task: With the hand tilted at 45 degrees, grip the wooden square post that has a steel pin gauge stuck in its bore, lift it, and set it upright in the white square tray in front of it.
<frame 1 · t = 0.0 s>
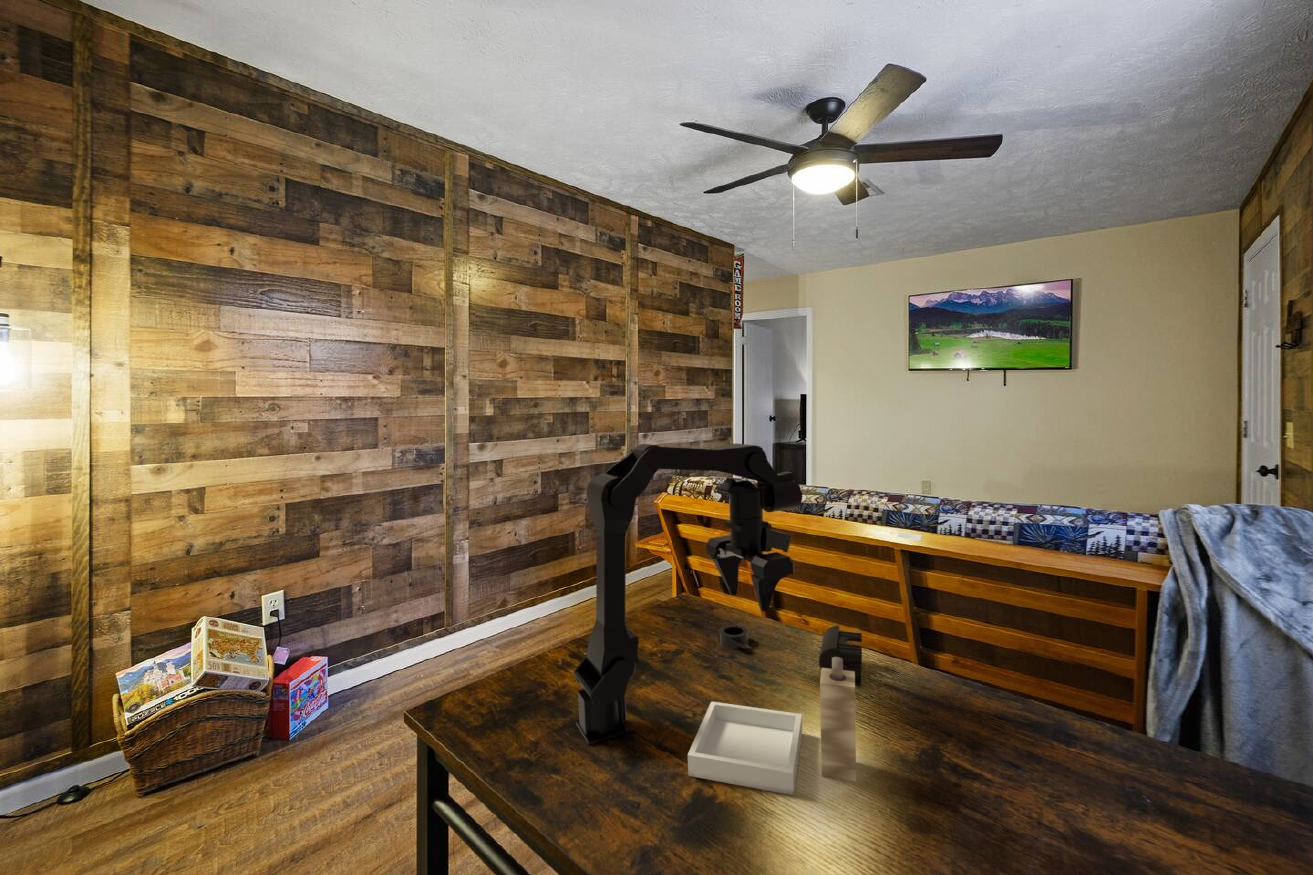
hand: (748, 602, 101), 15 cm above the table, tool pointing down, fingers open, 9 cm apart
wooden square post: (839, 768, 78), on the table
white square tray: (748, 753, 82), on the table
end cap: (841, 673, 105), on the table
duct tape: (734, 645, 118), on the table
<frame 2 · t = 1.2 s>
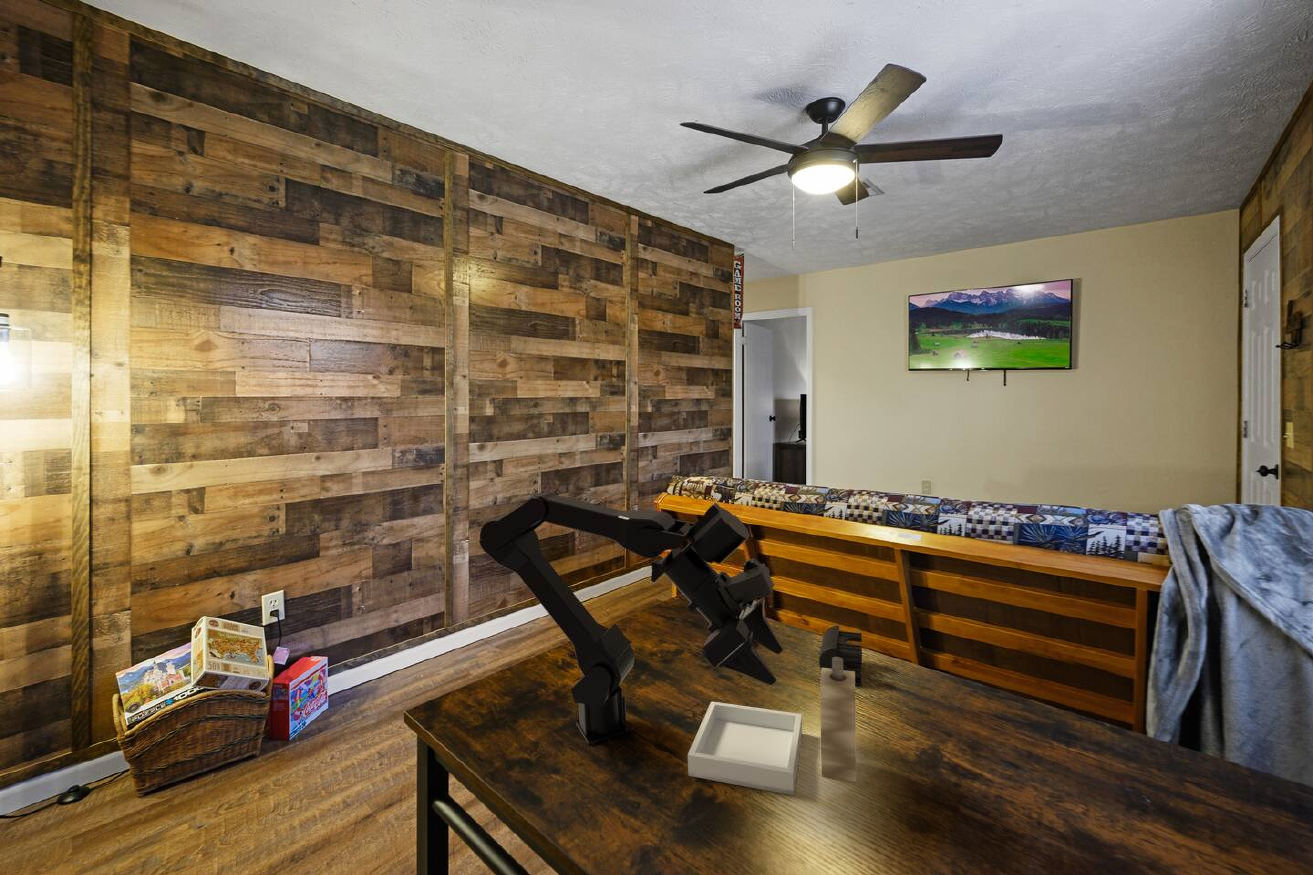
hand: (777, 666, 80), 13 cm above the table, tool tilted 45°, fingers open, 9 cm apart
nothing on the table moved.
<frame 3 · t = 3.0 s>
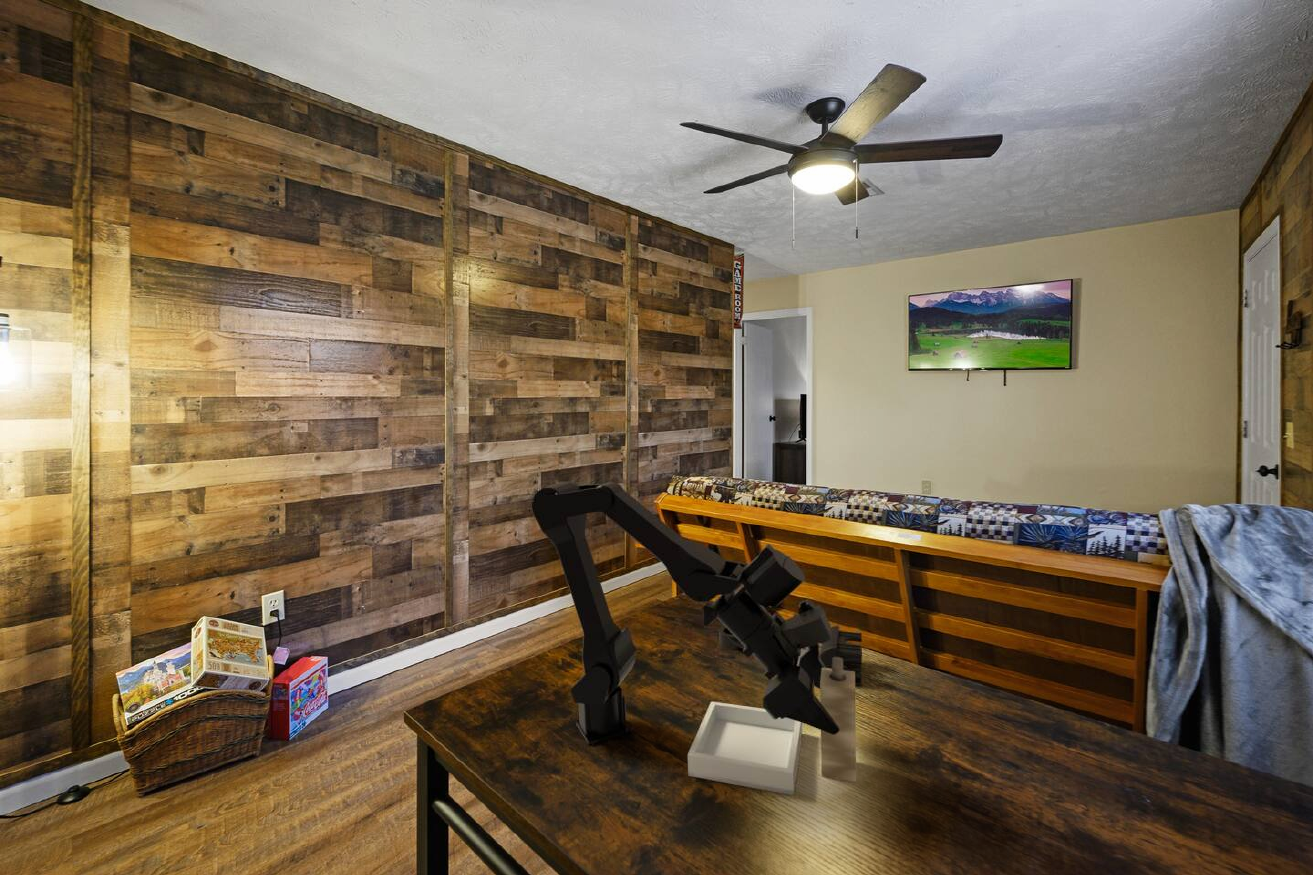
hand: (837, 712, 78), 8 cm above the table, tool tilted 45°, fingers open, 9 cm apart
nothing on the table moved.
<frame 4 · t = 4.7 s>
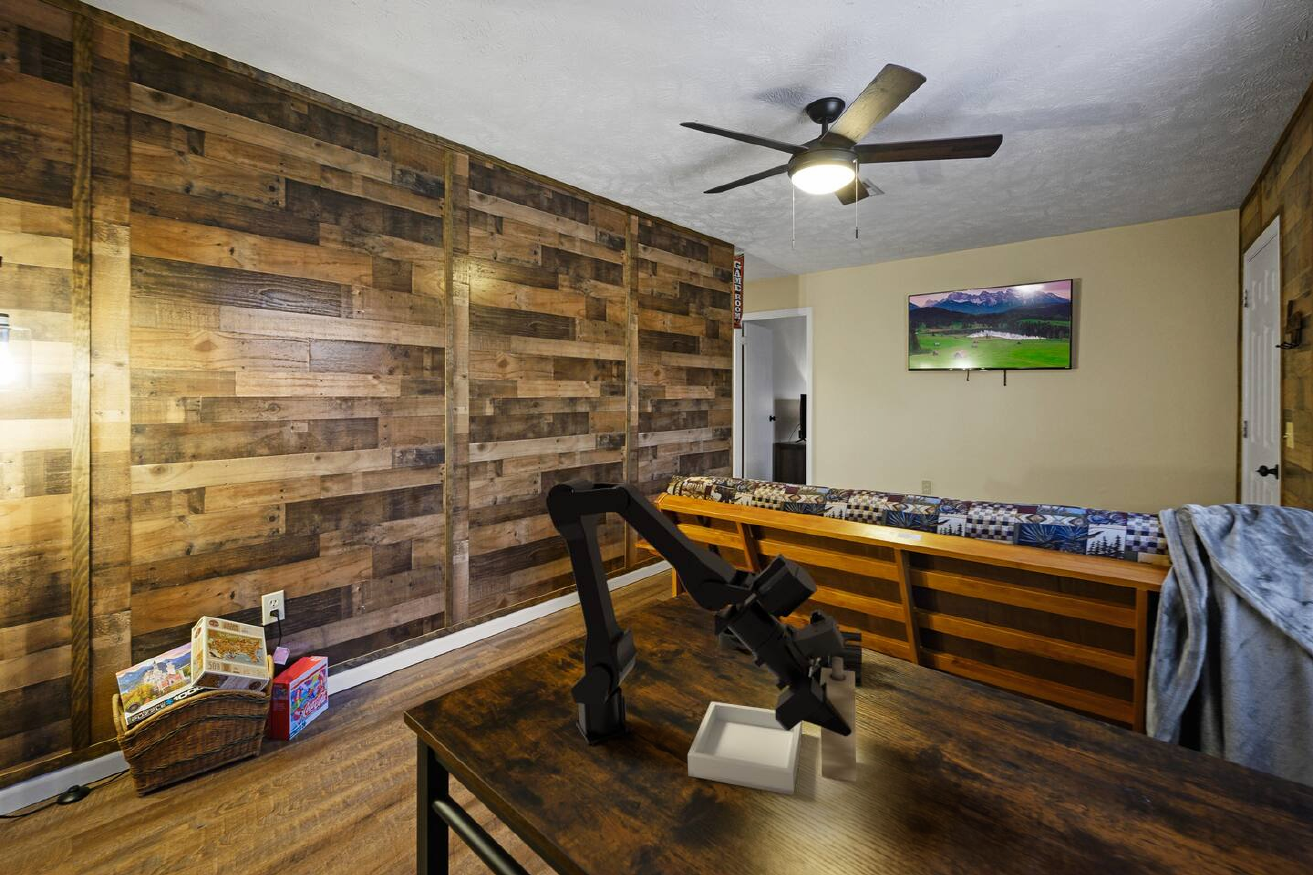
hand: (849, 723, 77), 7 cm above the table, tool tilted 45°, fingers closed on wooden square post, 4 cm apart
wooden square post: (839, 768, 78), on the table, touching gripper
everything else where it was.
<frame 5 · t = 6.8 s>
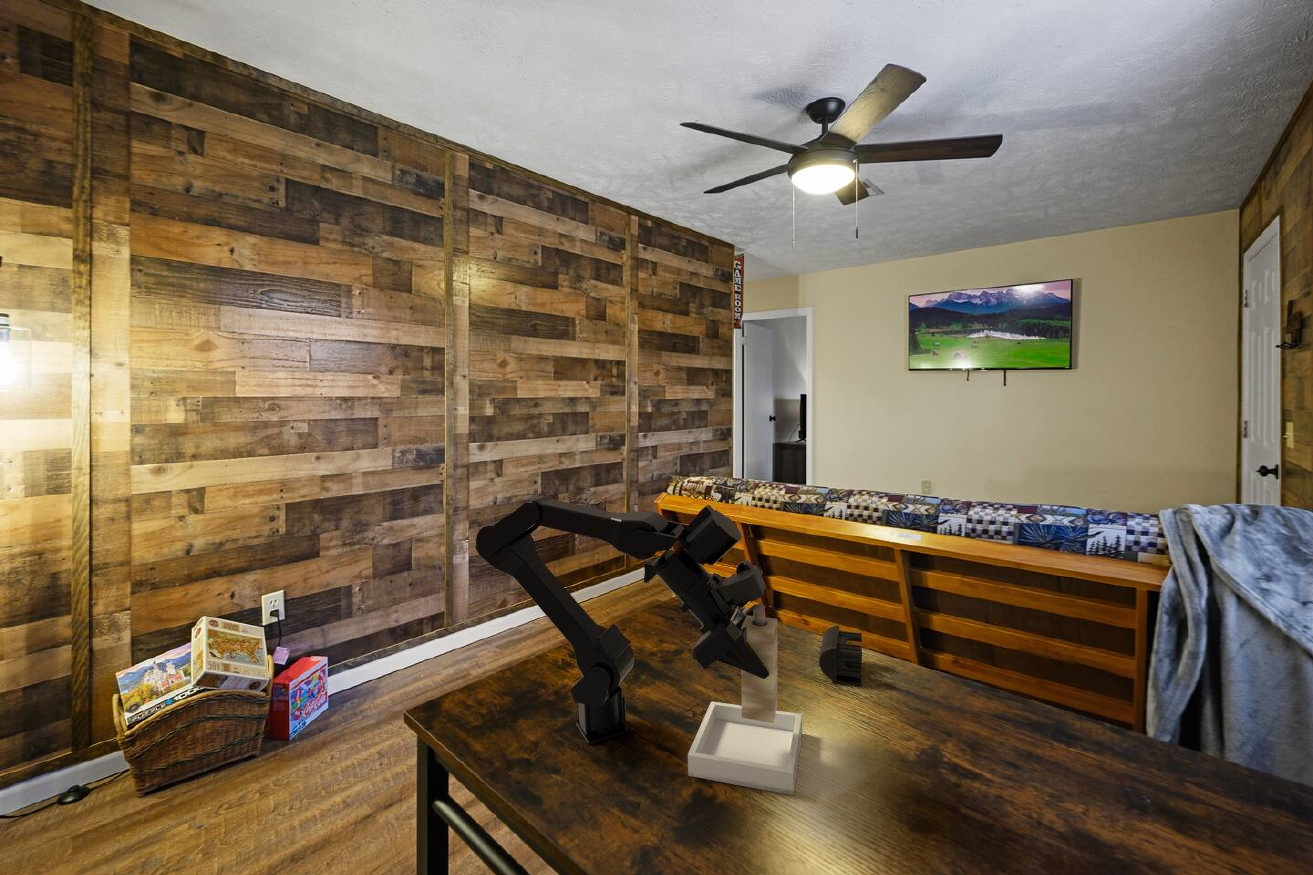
hand: (769, 668, 80), 13 cm above the table, tool tilted 45°, fingers closed on wooden square post, 4 cm apart
wooden square post: (759, 711, 81), point 6 cm above the table, touching gripper
everything else where it was.
when the fingers open (9 cm above the table, at t = 9.0 s): wooden square post drops 1 cm, resting on white square tray.
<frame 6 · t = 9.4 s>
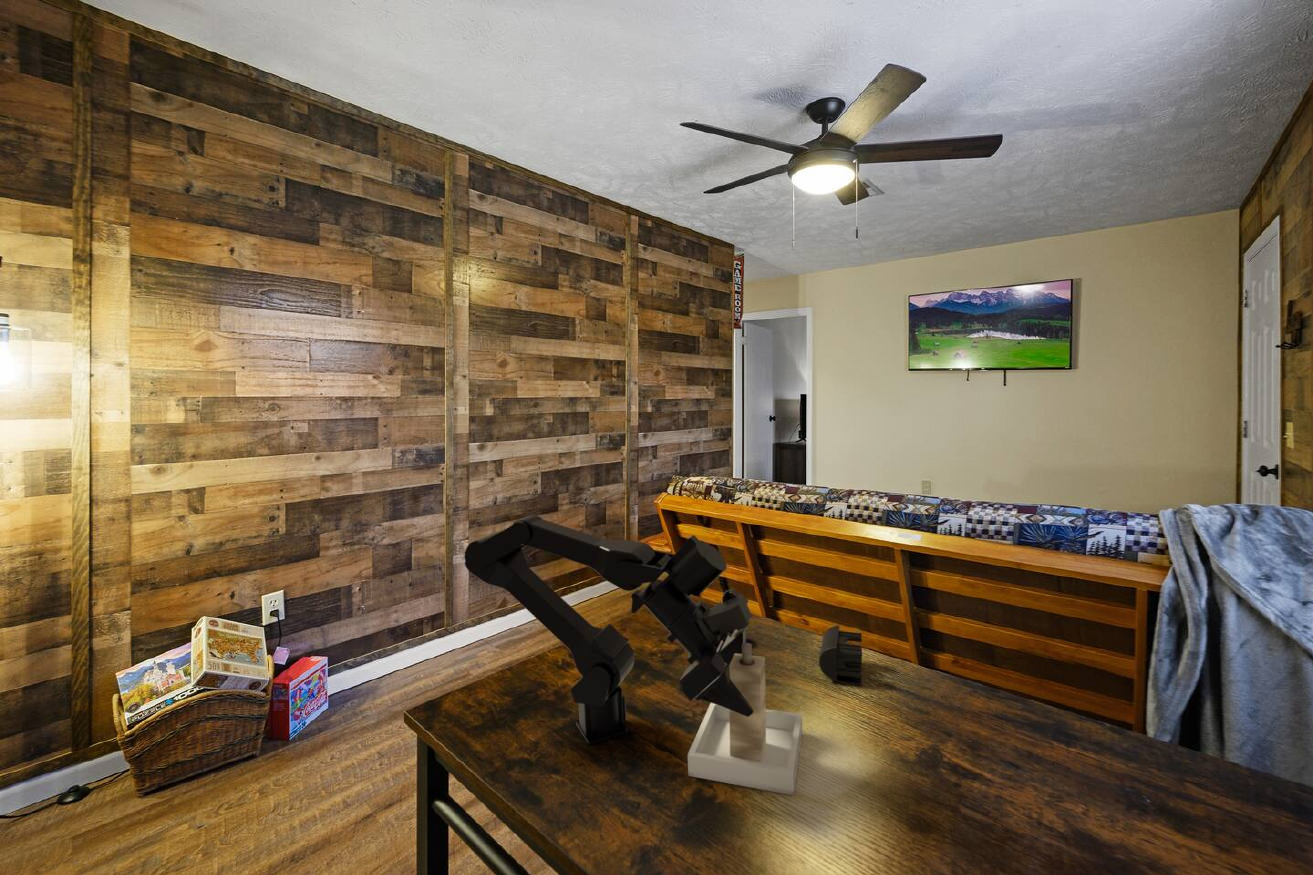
hand: (756, 696, 81), 9 cm above the table, tool tilted 45°, fingers open, 9 cm apart
wooden square post: (748, 749, 82), point 1 cm above the table, touching white square tray
everything else where it was.
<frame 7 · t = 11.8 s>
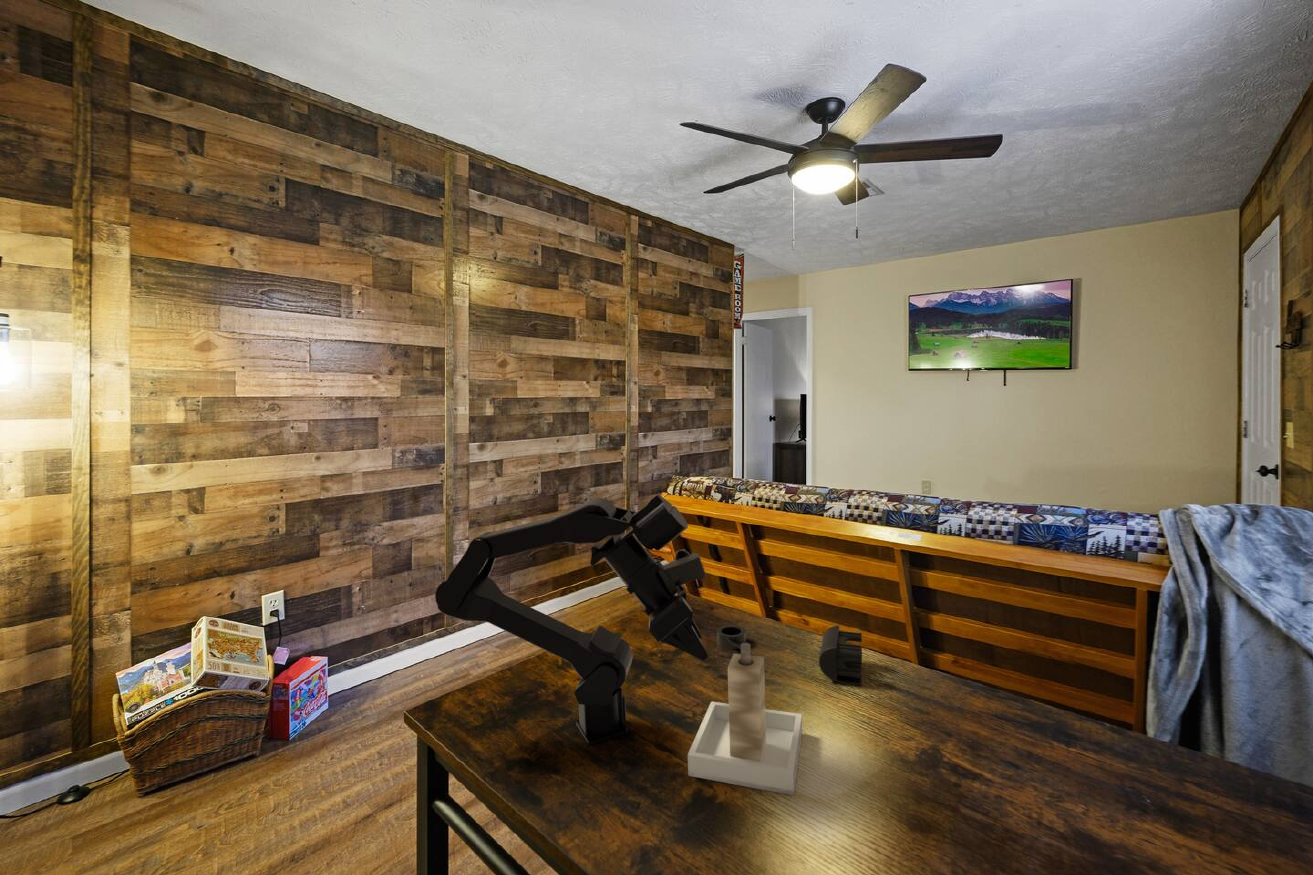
hand: (702, 648, 87), 13 cm above the table, tool tilted 40°, fingers open, 9 cm apart
nothing on the table moved.
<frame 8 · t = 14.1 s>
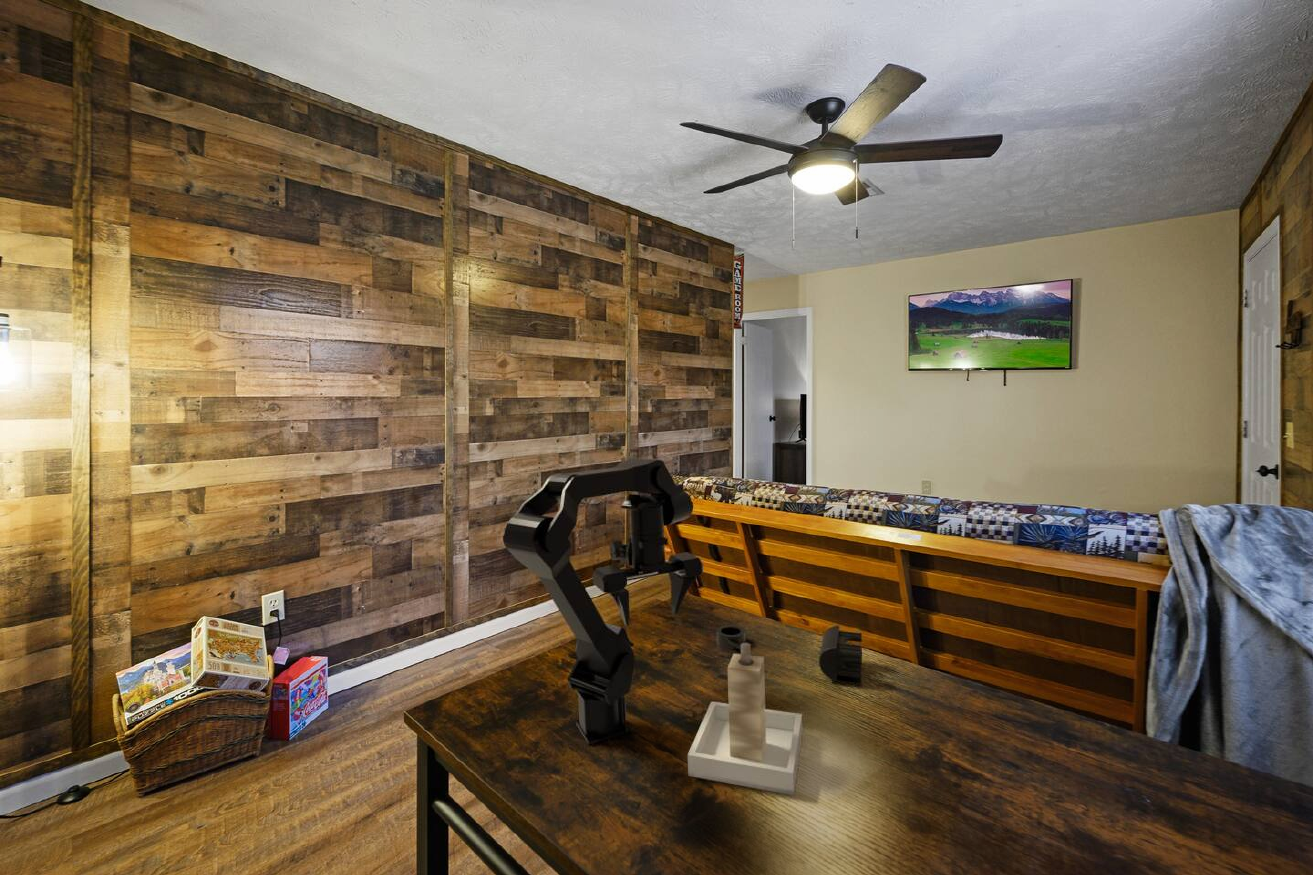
hand: (650, 619, 99), 13 cm above the table, tool pointing down, fingers open, 9 cm apart
nothing on the table moved.
at the end: wooden square post inside the target area on the white square tray (0.0 cm from its centre), point 0.6 cm above the white square tray's base; wooden square post tilted 0°; the gripper is holding nothing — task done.
